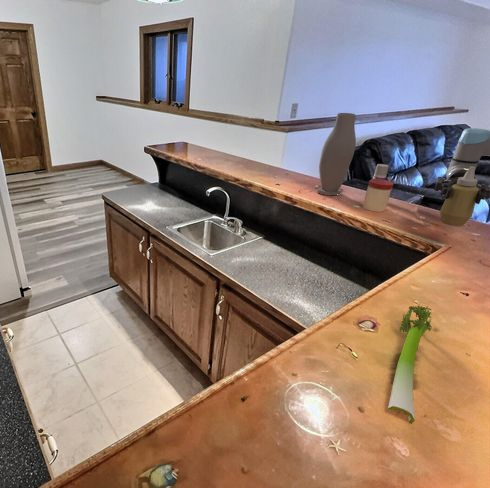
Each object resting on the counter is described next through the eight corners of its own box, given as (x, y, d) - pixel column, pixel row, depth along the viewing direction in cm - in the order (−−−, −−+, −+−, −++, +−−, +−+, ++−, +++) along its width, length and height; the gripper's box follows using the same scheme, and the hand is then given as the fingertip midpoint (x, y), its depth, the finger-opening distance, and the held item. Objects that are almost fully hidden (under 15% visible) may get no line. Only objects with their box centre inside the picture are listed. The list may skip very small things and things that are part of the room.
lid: (367, 187, 140) (368, 182, 139) (369, 182, 147) (370, 177, 146) (392, 190, 136) (393, 186, 135) (392, 185, 143) (393, 181, 142)
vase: (329, 187, 170) (346, 111, 155) (350, 195, 160) (371, 114, 144) (307, 190, 166) (323, 112, 150) (328, 199, 155) (347, 115, 140)
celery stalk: (372, 413, 60) (395, 314, 80) (418, 439, 57) (430, 329, 77) (387, 393, 56) (408, 295, 77) (437, 419, 53) (445, 310, 74)
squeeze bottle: (435, 216, 116) (453, 162, 108) (466, 221, 112) (487, 165, 104) (437, 225, 110) (456, 168, 102) (470, 230, 106) (492, 171, 98)
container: (381, 199, 156) (391, 165, 149) (375, 200, 154) (385, 167, 147) (371, 196, 160) (380, 163, 153) (365, 197, 157) (374, 164, 151)
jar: (385, 207, 147) (393, 182, 142) (384, 213, 140) (392, 188, 136) (363, 203, 151) (369, 179, 146) (361, 209, 144) (368, 184, 140)
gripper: (492, 195, 117) (501, 216, 100) (423, 185, 127) (420, 202, 110) (502, 173, 113) (513, 191, 96) (430, 164, 123) (428, 179, 107)
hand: (463, 197), depth 103 cm, fingers closed on squeeze bottle, 7 cm apart
